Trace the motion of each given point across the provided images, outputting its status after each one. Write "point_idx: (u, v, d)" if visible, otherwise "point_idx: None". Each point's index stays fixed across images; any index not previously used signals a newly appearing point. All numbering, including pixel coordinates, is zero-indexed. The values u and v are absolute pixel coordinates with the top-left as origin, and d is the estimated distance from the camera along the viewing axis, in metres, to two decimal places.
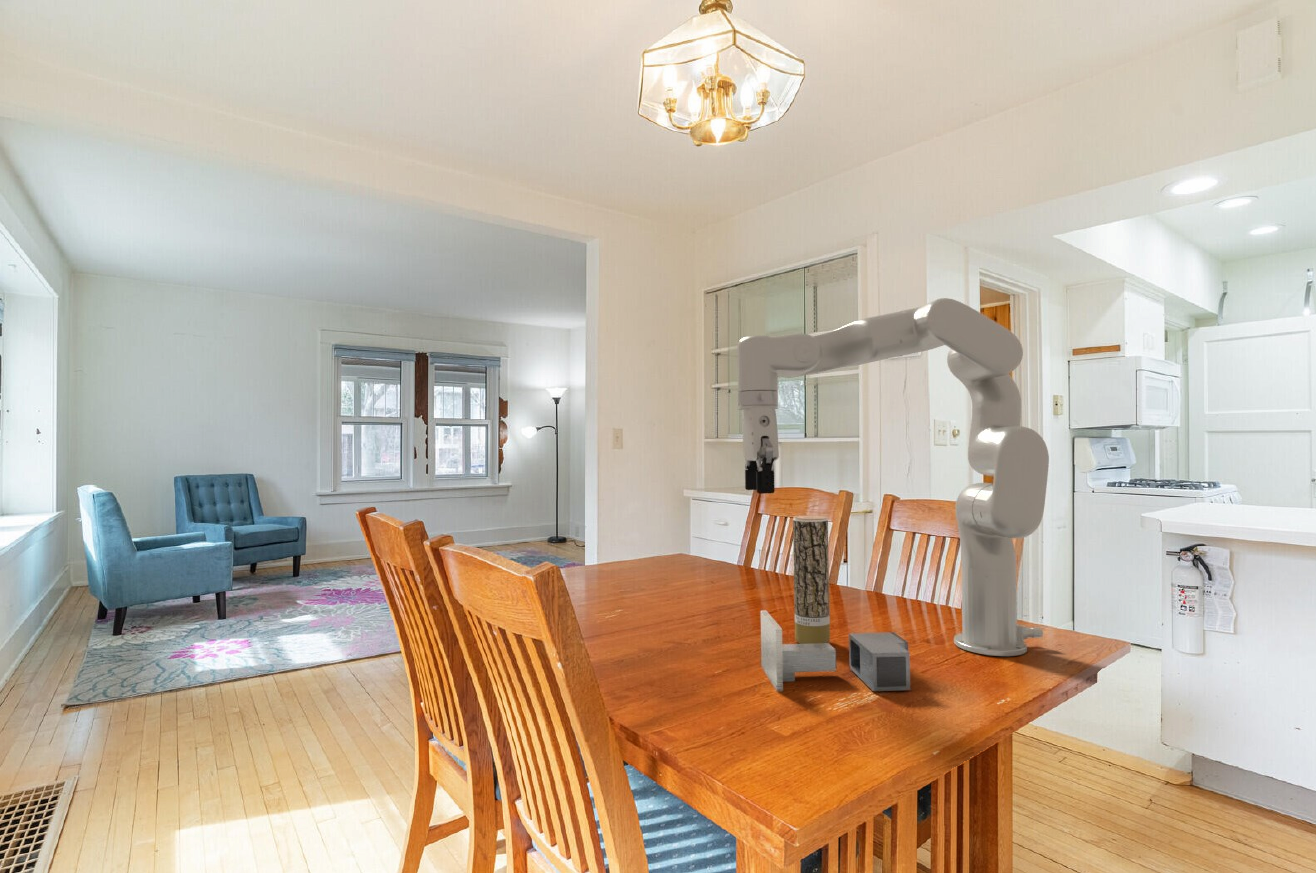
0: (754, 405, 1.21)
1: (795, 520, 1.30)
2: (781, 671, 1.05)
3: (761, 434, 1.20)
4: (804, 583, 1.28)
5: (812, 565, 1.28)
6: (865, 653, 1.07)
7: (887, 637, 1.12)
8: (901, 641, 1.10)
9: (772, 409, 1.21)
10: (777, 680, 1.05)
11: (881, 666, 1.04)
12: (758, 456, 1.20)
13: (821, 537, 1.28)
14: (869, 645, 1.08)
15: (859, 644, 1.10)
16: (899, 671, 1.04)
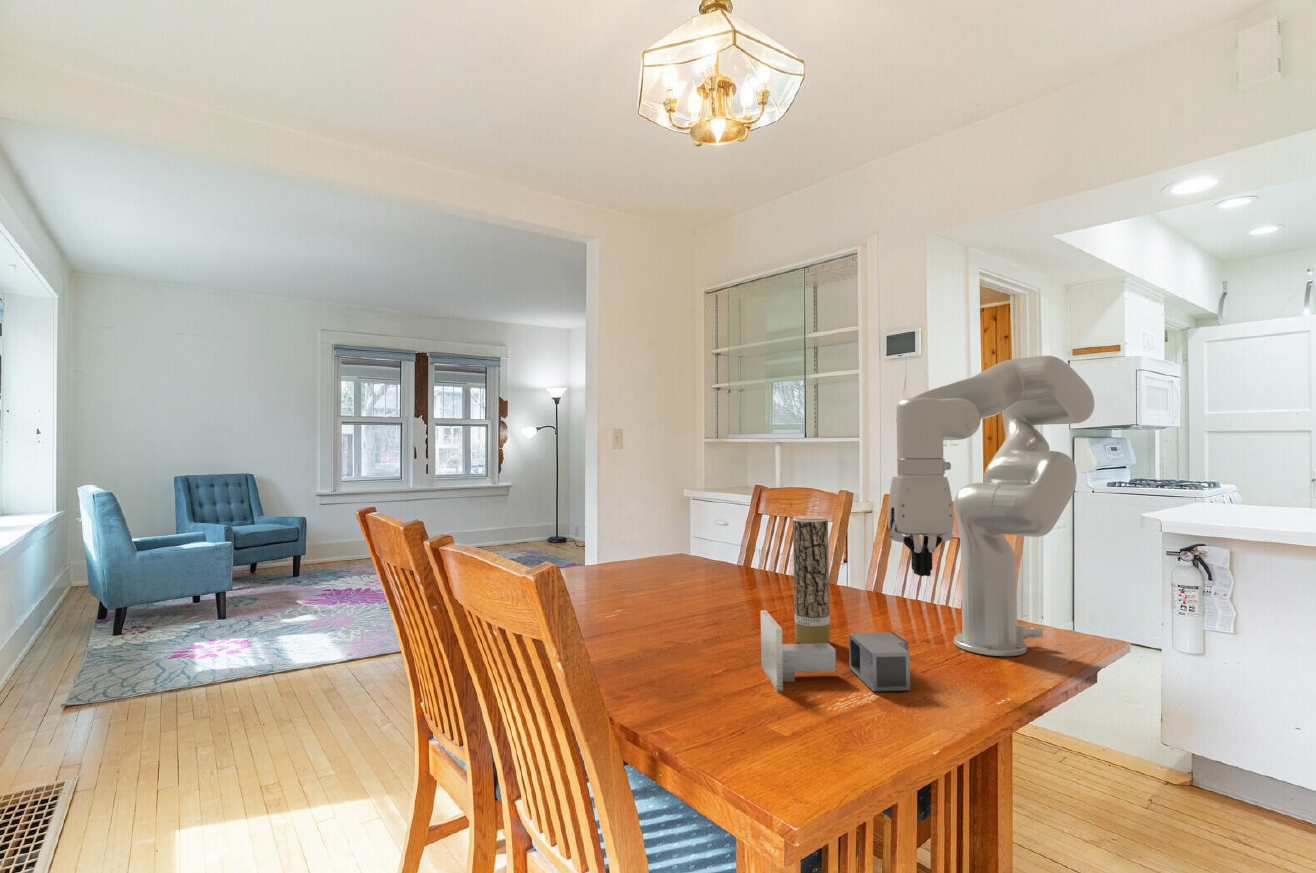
0: (943, 474, 1.13)
1: (795, 520, 1.30)
2: (781, 671, 1.05)
3: None
4: (804, 583, 1.28)
5: (812, 565, 1.28)
6: (865, 653, 1.07)
7: (887, 637, 1.12)
8: (901, 641, 1.10)
9: None
10: (777, 680, 1.05)
11: (881, 666, 1.04)
12: None
13: (821, 537, 1.28)
14: (869, 645, 1.08)
15: (859, 644, 1.10)
16: (899, 671, 1.04)
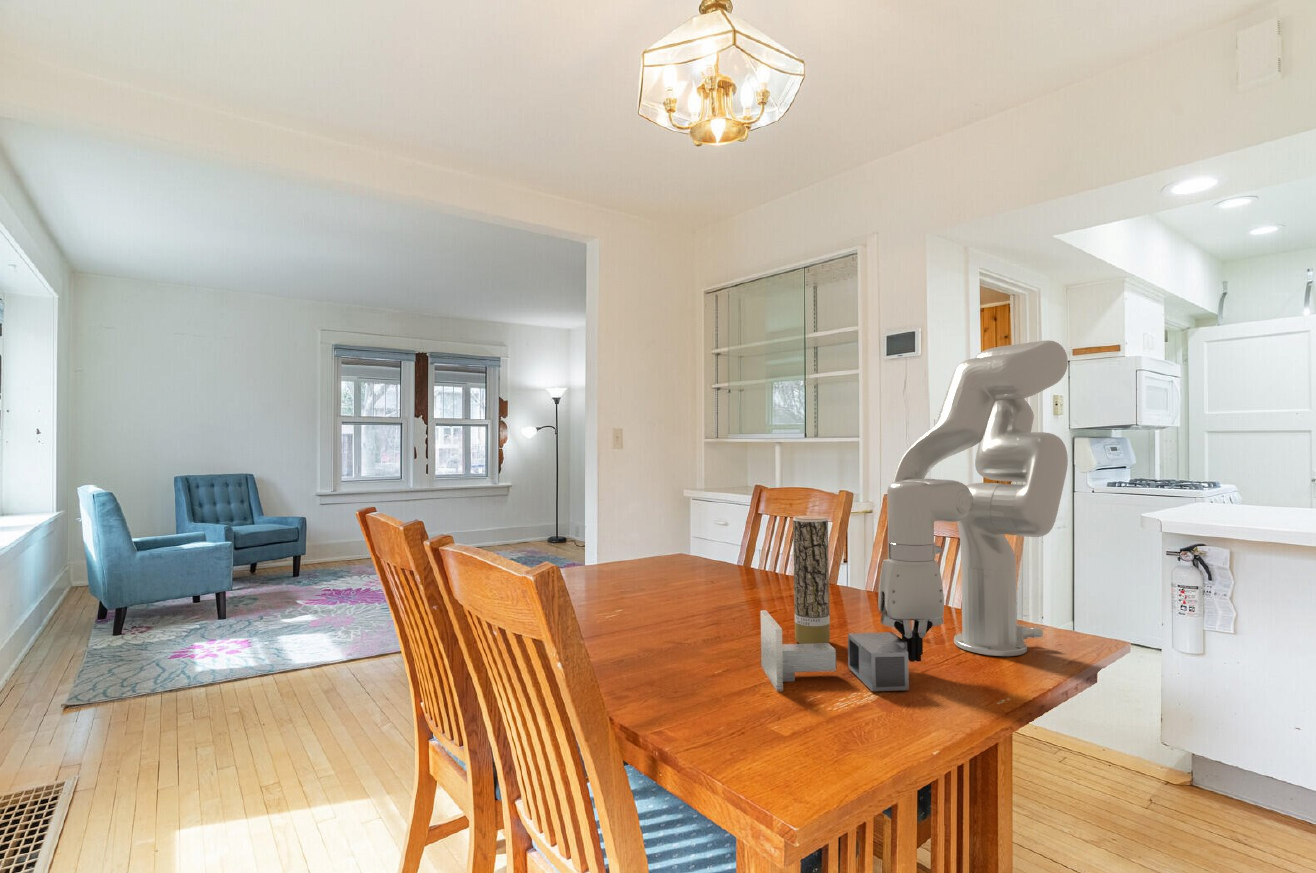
0: None
1: (795, 520, 1.30)
2: (781, 671, 1.05)
3: None
4: (804, 583, 1.28)
5: (812, 565, 1.28)
6: (863, 653, 1.07)
7: (886, 637, 1.12)
8: (900, 641, 1.10)
9: None
10: (777, 680, 1.05)
11: (880, 666, 1.04)
12: None
13: (821, 537, 1.28)
14: (868, 645, 1.08)
15: (858, 644, 1.10)
16: (898, 671, 1.04)
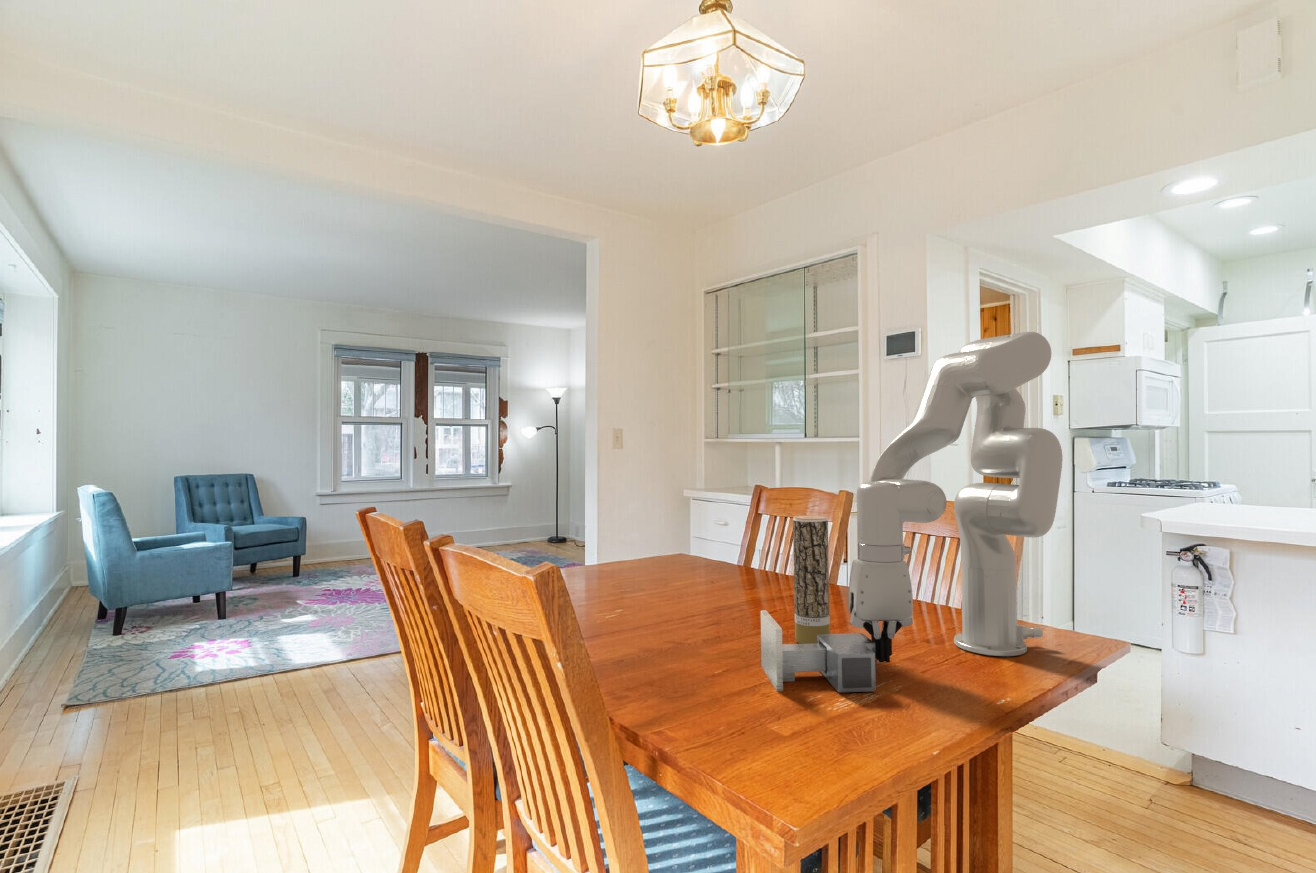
0: None
1: (795, 520, 1.30)
2: (781, 671, 1.05)
3: None
4: (804, 583, 1.28)
5: (812, 565, 1.28)
6: (831, 654, 1.07)
7: (855, 638, 1.12)
8: (868, 642, 1.10)
9: None
10: (777, 680, 1.05)
11: (846, 667, 1.04)
12: None
13: (821, 537, 1.28)
14: (836, 646, 1.08)
15: (826, 645, 1.10)
16: (864, 672, 1.04)
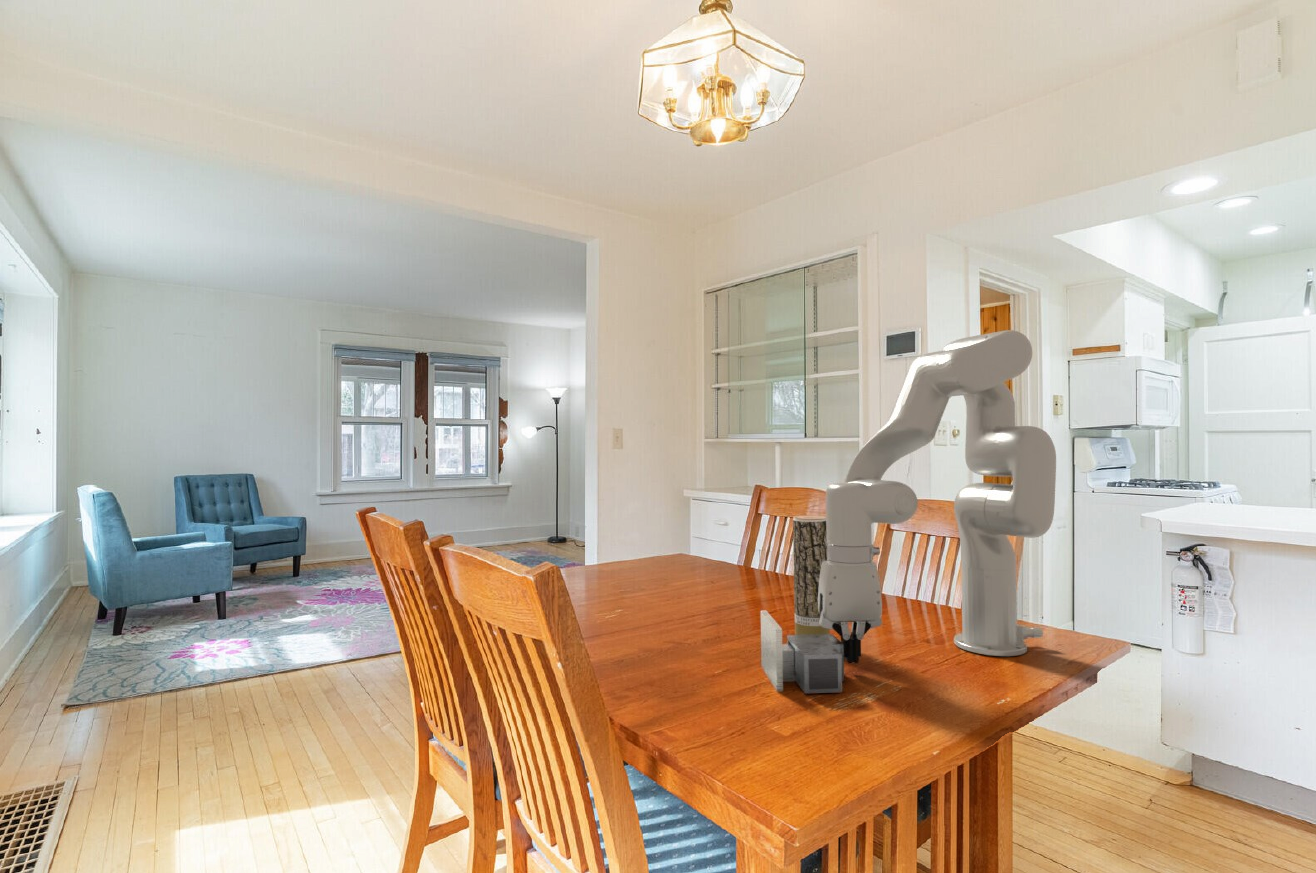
0: None
1: (795, 520, 1.30)
2: (781, 671, 1.05)
3: None
4: (804, 583, 1.28)
5: (812, 565, 1.28)
6: (798, 655, 1.07)
7: (824, 639, 1.12)
8: (837, 643, 1.09)
9: None
10: (777, 680, 1.05)
11: (813, 668, 1.03)
12: None
13: (821, 537, 1.28)
14: (803, 647, 1.08)
15: (794, 646, 1.09)
16: (831, 673, 1.03)
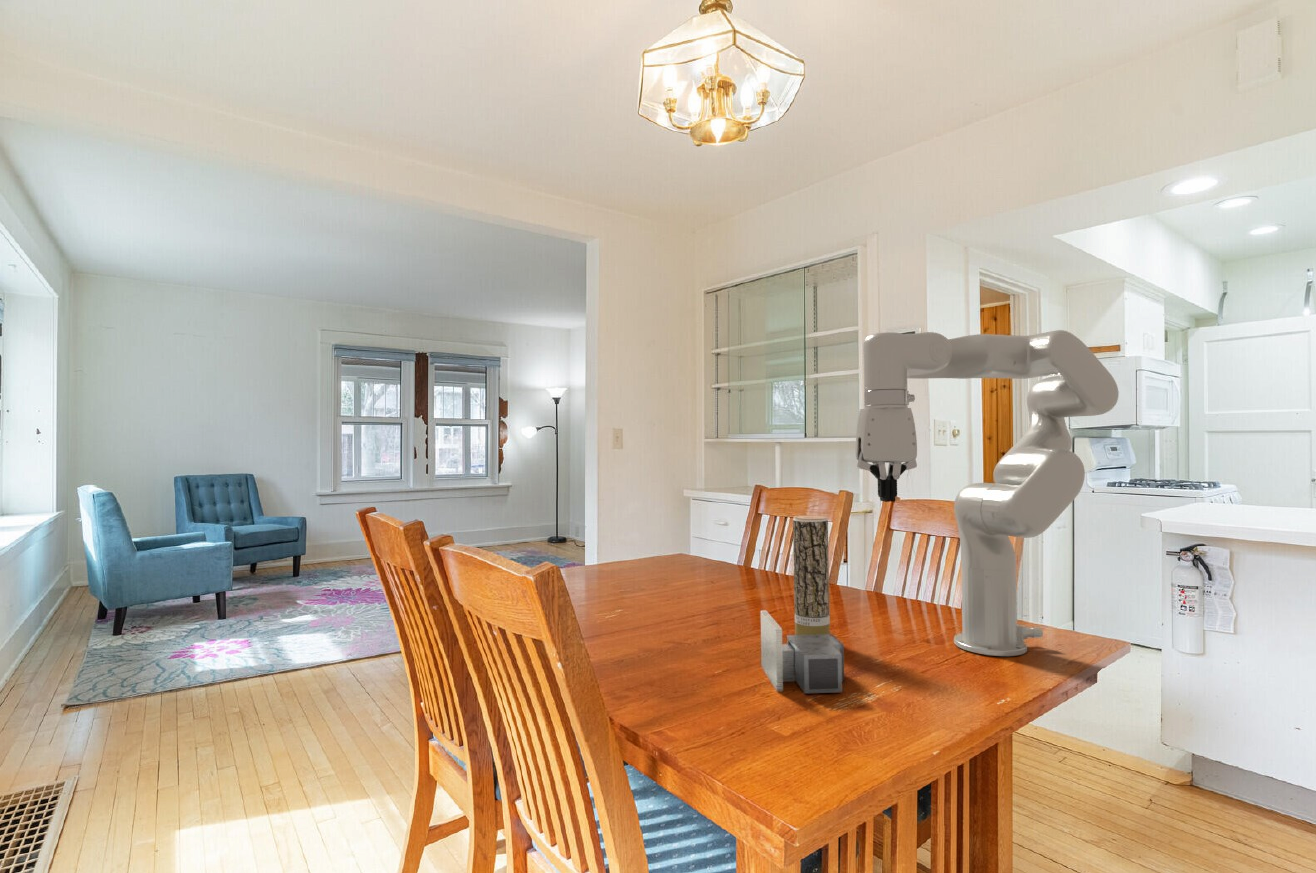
0: (907, 405, 1.19)
1: (795, 520, 1.30)
2: (781, 671, 1.05)
3: None
4: (804, 583, 1.28)
5: (812, 565, 1.28)
6: (798, 655, 1.07)
7: (824, 639, 1.12)
8: (837, 643, 1.09)
9: None
10: (777, 680, 1.05)
11: (813, 668, 1.03)
12: None
13: (821, 537, 1.28)
14: (803, 647, 1.08)
15: (794, 646, 1.09)
16: (831, 673, 1.03)
